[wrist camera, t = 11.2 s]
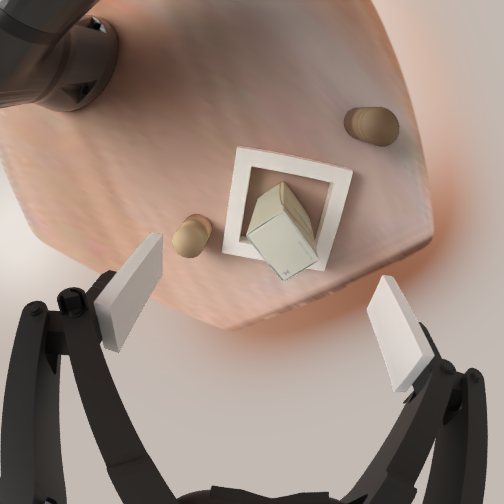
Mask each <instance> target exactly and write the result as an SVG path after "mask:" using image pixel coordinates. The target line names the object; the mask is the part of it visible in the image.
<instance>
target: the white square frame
mask: <svg viewBox="0 0 504 504" xmlns="http://www.w3.org/2000/svg"><path fill="white" fill-rule="evenodd" d="M252 167H258V168H263V169H269V170H274V171H279V172H284V173H289V174H294V175H299V176H304V177H309V178H313V179H318V180H322V181H326V182H330V185H329V189H328V193H327V197H326V201H325V205H324V208H323V212H322V216H321V220H320V224H319V227H318V231H317V235H316V238H315V245H316V250H317V254H318V258H319V261H318V262H317V263H315V264H314V265H312V266H311V267H309V268H307V269H313V270H319V271H324V270H325V267H326V264H327V261H328V258H329V255H330V252H331V248H332V245H333V242H334V239H335V235H336V232H337V229H338V225H339V222H340V218H341V215H342V211H343V208H344V204H345V200H346V197H347V193H348V189H349V186H350V182H351V178H352V174H353V171H352V170H351V169H349V168H346V167H342V166H338V165H334V164H330V163H326V162H322V161H317V160H313V159H308V158H304V157H299V156H294V155H289V154H284V153H279V152H274V151H269V150H263V149H258V148H252V147H246V146H238V147H237V151H236V157H235V163H234V170H233V177H232V183H231V190H230V197H229V204H228V211H227V218H226V225H225V232H224V240H223V247H222V253H226V254H231V255H236V256H242V257H247V258H253V259H258V260H264V259H263V258H262V256H261V255H260V254H259V253H258V251H257V250H256V249H255V248H254V246H253V245H252V244H251V242H250V241H249V240H248V239H247V237H244V236H241V230H242V224H243V218H244V212H245V206H246V200H247V194H248V188H249V182H250V176H251V170H252ZM264 261H265V260H264Z"/></svg>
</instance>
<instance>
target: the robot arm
mask: <svg viewBox="0 0 504 504" xmlns="http://www.w3.org/2000/svg"><path fill="white" fill-rule="evenodd" d="M99 1H100V0H0V108H4V107H9V106H15V105H21V104H27V103H35V104H37V105H40V106H42V107H45V108H47V109H50V110H53V111H58V112H64V111H73V110H77V109H80V108H82V107H84V106H86V105H88V104H89V103H90V102H92V101H93V100H94V99H95V98H96V97H97V96H98V95H99V94H100V93H101V92H102V90H103V89H104V88H105V86H106V85H107V83H108V81H109V80H110V78H111V76H112V73H113V71H114V68H115V65H116V61H117V56H118V40H117V36H116V33H115V31H114V29H113V27H112V26H111V25H110V24H109V23H108V22H107V21H105V20H103V19H100V18H98V17H95V16H91V15H85V14H86V13H87V12H88V11H89V10H90V9H91V8H92V7H93V6H94V5H96V4H97V3H98V2H99ZM162 256H163V234H158V233H153V232H150V234H149V235H148V236H147V237H146V238H145V239H144V241H143V242H142V243H141V244H140V245H139V246H138V248H137V249H136V250H135V251H134V252H133V254H132V255H131V256H130V257H129V258H128V260H127V261H126V262H125V263H124V264H123V266H122V267H121V268H120V269H119V271H118V272H115V271H111V270H109V271H107V272H105V273H103V274H102V275H101V276H100V277H99V278H98V279H97V280H96V282H95V283H94V284H93V285H92V287H91V288H90V289H89V290H88V291H87V293H85V292H84V290H82V289H80V288H76V287H72V288H67V289H65V290H63V291H62V292H60V294H59V295H58V297H57V302H58V305H59V309H60V311H49V310H48V308H47V306H46V304H45V303H44V302H42V301H34V302H31V303H29V304H27V305H26V306H25V307H24V309H23V311H22V314H21V318H20V321H19V325H18V328H17V332H16V336H15V340H14V345H13V349H12V354H11V358H10V363H9V369H8V375H7V381H6V388H5V395H4V403H3V413H2V427H1V477H0V504H67V499H66V498H67V497H66V488H65V481H64V474H63V466H62V456H61V444H60V425H59V384H60V381H59V380H60V364H61V355H69V356H70V361H71V365H72V369H73V373H74V376H75V380H76V384H77V387H78V391H79V394H80V397H81V400H82V403H83V407H84V410H85V413H86V415H87V418H88V421H89V424H90V426H91V429H92V432H93V435H94V437H95V440H96V442H97V445H98V447H99V449H100V452H101V454H102V456H103V459H104V461H105V463H106V466H107V472H108V474H109V477H110V479H111V481H112V483H113V485H114V487H115V489H116V491H117V493H118V495H119V496H120V498H121V500H122V502H123V503H124V504H411V503H412V501H413V499H414V498H415V495H416V493H417V489H416V488H414V484H415V482H416V480H417V478H418V476H419V474H420V472H421V470H422V468H423V466H424V464H425V461H426V459H427V457H428V455H429V452H430V450H431V448H432V445H433V443H434V440H435V438H436V440H435V447H434V453H433V459H432V464H431V470H430V474H429V480H428V484H427V488H426V493H425V496H424V500H423V504H483V497H484V490H485V481H486V468H487V445H488V444H487V443H488V442H487V441H488V434H487V433H488V429H487V406H486V393H485V383H484V378H483V376H482V374H481V372H479V370H477V369H474V368H470V369H468V370H467V371H466V373H465V374H463V373H460V372H456V369H455V367H454V366H453V364H452V363H451V362H449V361H447V360H445V359H442V358H441V356H440V354H439V352H438V350H437V348H436V346H435V344H434V342H433V340H432V338H431V337H430V334H429V332H428V330H427V329H426V327H425V326H424V325H423V324H422V323H421V322H418V321H417V319H416V317H415V315H414V313H413V311H412V309H411V308H410V306H409V304H408V302H407V300H406V299H405V297H404V295H403V293H402V292H401V290H400V288H399V286H398V284H397V283H396V281H395V279H394V278H393V277H392V276H387V275H382V277H381V279H380V282H379V284H378V286H377V288H376V291H375V293H374V295H373V297H372V299H371V301H370V303H369V305H368V308H367V313H368V316H369V318H370V321H371V324H372V326H373V329H374V332H375V335H376V338H377V341H378V343H379V347H380V350H381V352H382V356H383V359H384V362H385V365H386V368H387V371H388V374H389V377H390V380H391V384H392V387H393V391H394V392H406V391H407V390H408V389H409V388H410V386H411V385H413V388H414V391H413V392H412V393H411V394H410V395H409V397H408V398H407V399H406V400H405V401H404V402H403V403H406V404H405V406H404V408H403V410H402V412H401V414H400V416H399V417H398V419H397V421H396V423H395V425H394V426H393V428H392V430H391V432H390V434H389V435H388V437H387V438H386V440H385V442H384V443H383V445H382V447H381V448H380V450H379V451H378V453H377V455H376V456H375V458H374V459H373V461H372V462H371V464H370V465H369V466H368V468H367V469H366V471H365V472H364V474H363V475H362V476H361V478H360V479H359V481H358V482H357V483H356V485H355V486H354V487H353V489H352V490H351V491H350V492H349V493H348V494H347V495H346V496H345V497H344V498H342V499H341V500H340V501H339V500H337V499H333V498H330V497H329V492H311V493H298V494H294V495H289V496H284V497H279V498H268V497H264V496H260V495H257V494H254V493H251V492H248V491H245V490H241V489H233V488H224V487H218V486H212V487H211V490H202V491H196V492H192V493H189V494H186V495H183V496H181V497H179V498H177V499H176V498H175V496H174V495H173V493H172V492H171V490H170V489H169V487H168V486H167V484H166V482H165V481H164V479H163V478H162V476H161V474H160V473H159V471H158V469H157V468H156V466H155V464H154V463H153V461H152V459H151V458H150V456H149V455H148V453H147V452H146V450H145V448H144V446H143V444H142V442H141V441H140V439H139V437H138V435H137V433H136V431H135V429H134V427H133V425H132V423H131V421H130V418H129V416H128V414H127V412H126V410H125V408H124V405H123V403H122V401H121V399H120V396H119V394H118V391H117V389H116V387H115V384H114V382H113V379H112V377H111V374H110V372H109V369H108V366H107V364H106V361H105V358H104V355H103V352H102V350H101V347H100V343H101V341H103V345H104V348H105V349H108V350H112V351H115V352H118V353H119V352H120V350H121V348H122V346H123V344H124V342H125V340H126V338H127V336H128V335H129V333H130V331H131V329H132V327H133V325H134V323H135V322H136V320H137V318H138V316H139V314H140V313H141V311H142V309H143V307H144V305H145V304H146V302H147V300H148V298H149V297H150V295H151V293H152V291H153V290H154V288H155V286H156V285H157V283H158V281H159V279H160V278H161V276H162Z"/></svg>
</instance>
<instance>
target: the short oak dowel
mask: <svg viewBox="0 0 504 504" xmlns="http://www.w3.org/2000/svg"><path fill="white" fill-rule="evenodd" d="M211 232H212V226H211V223H210V221H209V220H208V219H207V218H206V217H204V216H202V215H199V214H194V215H191V216H189V217H188V218H187V219H186V220H185V221H184V223H183V224H182V225H181V226H180V228H179V229H178V230H177V231H176V233H175V234H174V236H173V239H172V243H173V247H174V249H175V251H176V252H177V253H178V254H179V255H181V256H183V257H186V258H194V257H196V256H198V255H199V254H200V253H201V252H202V250H203V248H204V246H205V244H206V242H207V240H208V238H209V237H210V235H211Z"/></svg>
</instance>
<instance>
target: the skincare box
mask: <svg viewBox="0 0 504 504" xmlns="http://www.w3.org/2000/svg"><path fill="white" fill-rule="evenodd" d="M246 237H247V239H248V240H249V241H250V242H251V244H252V245H253V246H254V248H255V249H256V250H257V251H258V253H259V254H260V255H261V256H262V258H263V259H264V260H265V261H266V263H267V264H268V265H269V266H270V267H271V269H272V270H273V271H274V272H275V273H276V275H277V276H278V277H279V278H280V279H281V280H282V282H285V281H287V280H288V279H290V278H292V277H294V276H296V275H297V274H299V273H301V272H302V271H304V270H306V269H307V268H309V267H311V266H312V265H314V264H315V263H317V262H318V261H319V258H318V254H317V250H316V245H315V241H314V236H313V231H312V226H311V222H310V218H309V216H308V214H307V213H306V211H305V210H304V208H303V207H302V205H301V204H300V202H299V201H298V200H297V198H296V197H295V195H294V194H293V193H292V191H291V190H290V189H289V187H288V186H287V184H286V183H285V182H284V181H282V182H281V183H279V184H278V185H276V186H275V187H273V188H272V189H270V190H269V191H267V192H266V193H264V194H263V195H261V196H260V197H259V198H258V199H257V203H256V206H255V209H254V212H253V215H252V218H251V222H250V225H249V228H248V231H247V234H246Z"/></svg>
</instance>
